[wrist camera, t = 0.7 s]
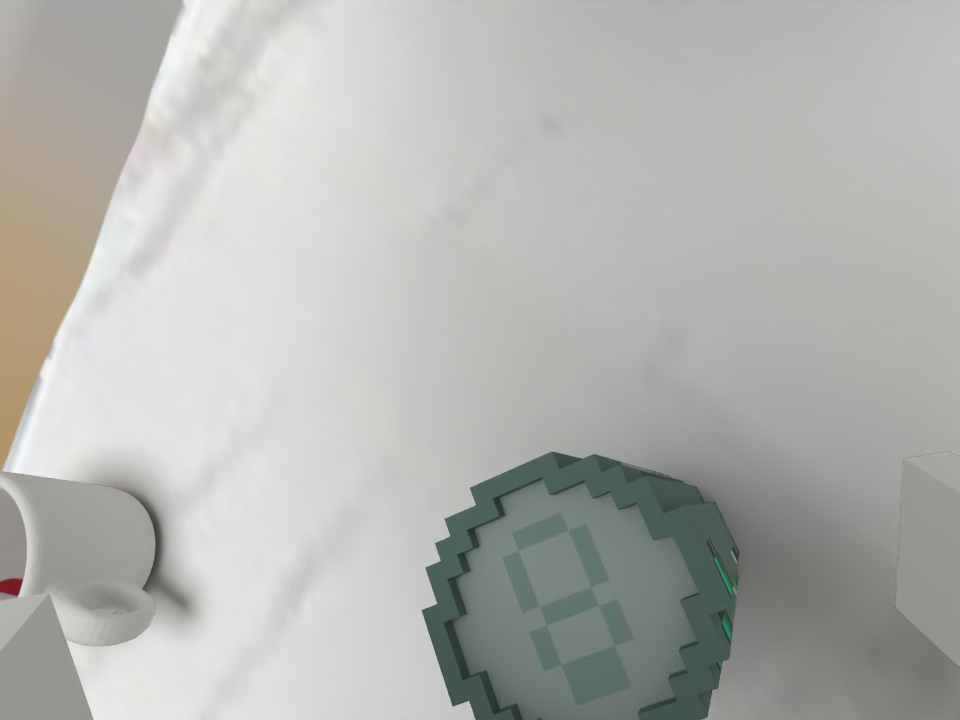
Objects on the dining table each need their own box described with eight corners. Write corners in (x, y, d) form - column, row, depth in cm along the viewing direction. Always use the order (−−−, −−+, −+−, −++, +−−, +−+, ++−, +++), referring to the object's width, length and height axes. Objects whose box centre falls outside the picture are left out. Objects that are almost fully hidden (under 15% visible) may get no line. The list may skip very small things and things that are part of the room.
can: (616, 656, 28) (486, 811, 14) (557, 510, 30) (393, 522, 16) (763, 604, 26) (781, 720, 12) (692, 454, 28) (639, 412, 14)
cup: (237, 544, 35) (102, 556, 28) (169, 688, 35) (15, 739, 28) (105, 451, 39) (-42, 440, 32) (44, 578, 39) (-118, 597, 32)
